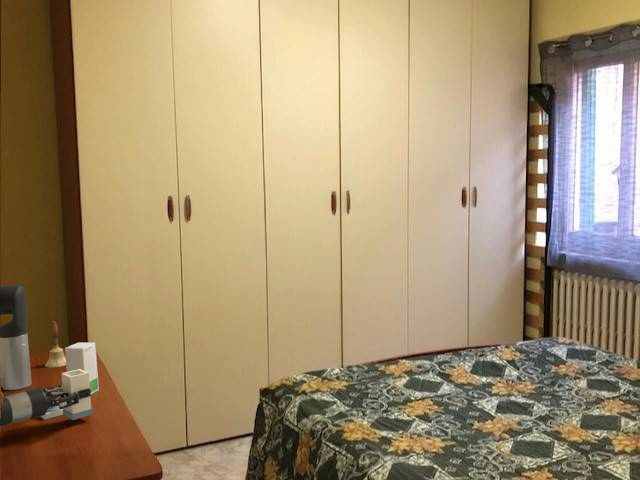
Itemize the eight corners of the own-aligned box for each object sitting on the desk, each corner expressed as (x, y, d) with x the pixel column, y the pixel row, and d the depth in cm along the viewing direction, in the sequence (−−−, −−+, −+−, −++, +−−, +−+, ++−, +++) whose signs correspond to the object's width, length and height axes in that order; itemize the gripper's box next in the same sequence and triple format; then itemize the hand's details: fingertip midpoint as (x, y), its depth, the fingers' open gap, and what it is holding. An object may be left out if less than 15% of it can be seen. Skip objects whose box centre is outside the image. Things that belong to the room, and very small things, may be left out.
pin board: (44, 419, 202) (43, 402, 202) (34, 413, 207) (33, 397, 207) (91, 406, 212) (89, 390, 211) (80, 401, 217) (79, 385, 216)
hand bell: (50, 369, 252) (47, 324, 250) (41, 364, 258) (38, 321, 256) (73, 364, 257) (70, 320, 255) (64, 359, 263) (60, 317, 261)
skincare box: (86, 398, 219) (82, 349, 217) (66, 397, 221) (62, 348, 219) (99, 389, 227) (96, 341, 226) (80, 388, 229) (77, 341, 227)
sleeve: (72, 420, 196) (69, 377, 195) (63, 414, 200) (59, 373, 199) (93, 414, 200) (90, 372, 199) (83, 408, 205) (80, 368, 203)
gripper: (34, 398, 184) (96, 382, 196) (13, 386, 194) (72, 371, 206) (37, 426, 185) (98, 408, 197) (15, 412, 195) (74, 396, 207)
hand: (84, 389), depth 201 cm, fingers closed on sleeve, 5 cm apart
